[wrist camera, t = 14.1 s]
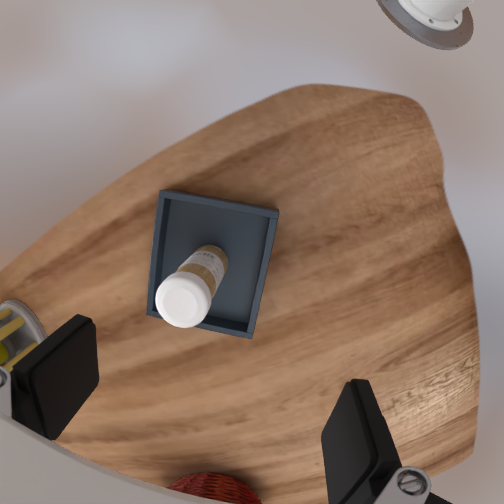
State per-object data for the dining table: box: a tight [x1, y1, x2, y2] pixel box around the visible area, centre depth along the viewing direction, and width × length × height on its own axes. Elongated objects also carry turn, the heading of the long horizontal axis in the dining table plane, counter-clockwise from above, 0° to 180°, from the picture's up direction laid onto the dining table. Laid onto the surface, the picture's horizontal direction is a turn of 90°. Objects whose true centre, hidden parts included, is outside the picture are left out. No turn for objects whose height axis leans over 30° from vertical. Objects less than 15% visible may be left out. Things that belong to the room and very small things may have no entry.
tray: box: [146, 189, 279, 339], centre depth 36 cm, size 16×14×3 cm
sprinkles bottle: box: [155, 245, 228, 328], centre depth 31 cm, size 5×5×14 cm
